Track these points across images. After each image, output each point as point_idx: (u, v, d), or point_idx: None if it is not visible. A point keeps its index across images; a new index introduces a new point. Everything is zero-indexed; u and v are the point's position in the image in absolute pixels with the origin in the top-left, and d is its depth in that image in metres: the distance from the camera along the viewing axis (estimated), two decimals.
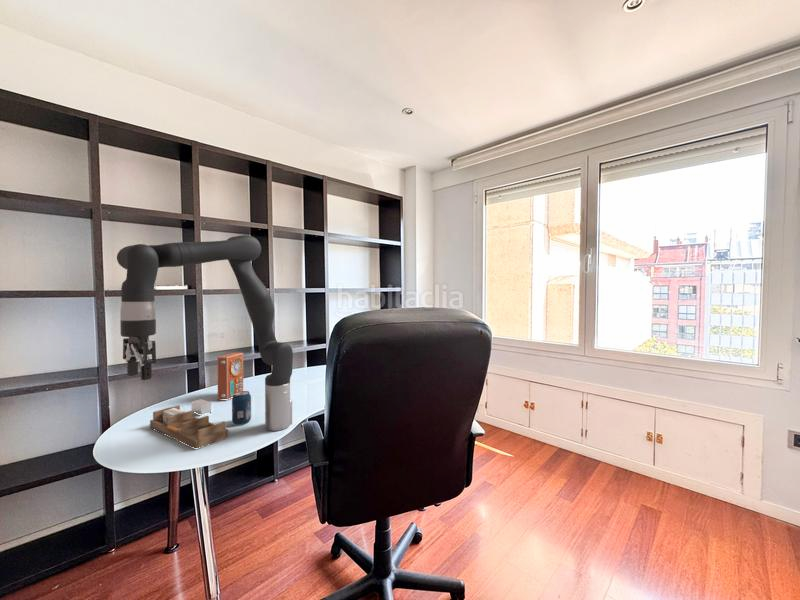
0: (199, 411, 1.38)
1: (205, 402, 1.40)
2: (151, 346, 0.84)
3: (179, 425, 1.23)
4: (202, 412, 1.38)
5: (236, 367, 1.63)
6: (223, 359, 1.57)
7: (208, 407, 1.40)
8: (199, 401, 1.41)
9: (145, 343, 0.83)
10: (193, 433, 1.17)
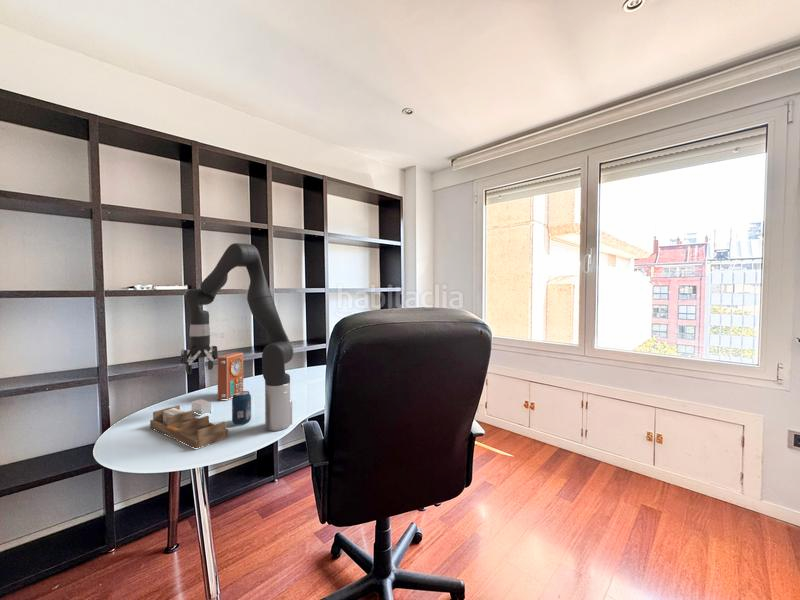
0: (199, 411, 1.38)
1: (205, 402, 1.40)
2: None
3: (179, 425, 1.23)
4: (202, 412, 1.38)
5: (236, 367, 1.63)
6: (223, 359, 1.57)
7: (208, 407, 1.40)
8: (199, 401, 1.41)
9: None
10: (193, 433, 1.17)
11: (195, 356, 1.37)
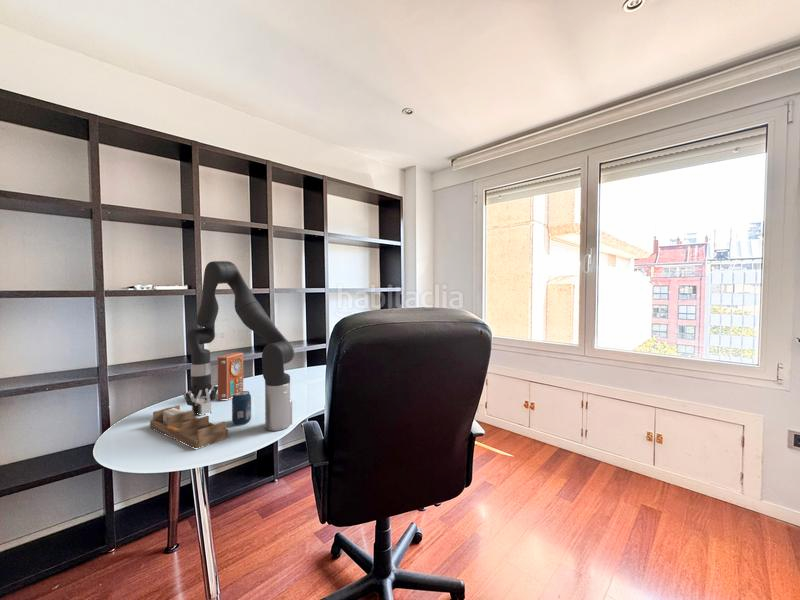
0: (200, 411, 1.38)
1: (206, 402, 1.40)
2: None
3: (179, 425, 1.23)
4: (202, 412, 1.38)
5: (236, 367, 1.63)
6: (223, 359, 1.57)
7: (208, 407, 1.40)
8: (199, 401, 1.41)
9: None
10: (193, 433, 1.17)
11: (198, 396, 1.39)
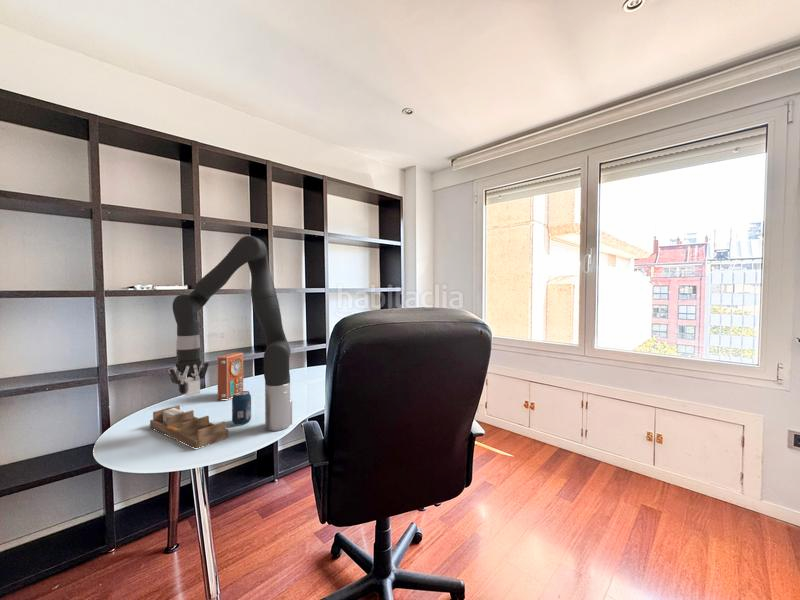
0: (186, 390, 1.19)
1: (194, 380, 1.21)
2: None
3: (179, 425, 1.23)
4: (189, 391, 1.18)
5: (236, 367, 1.63)
6: (223, 359, 1.57)
7: (197, 385, 1.21)
8: (187, 379, 1.22)
9: None
10: (193, 433, 1.17)
11: (185, 373, 1.19)
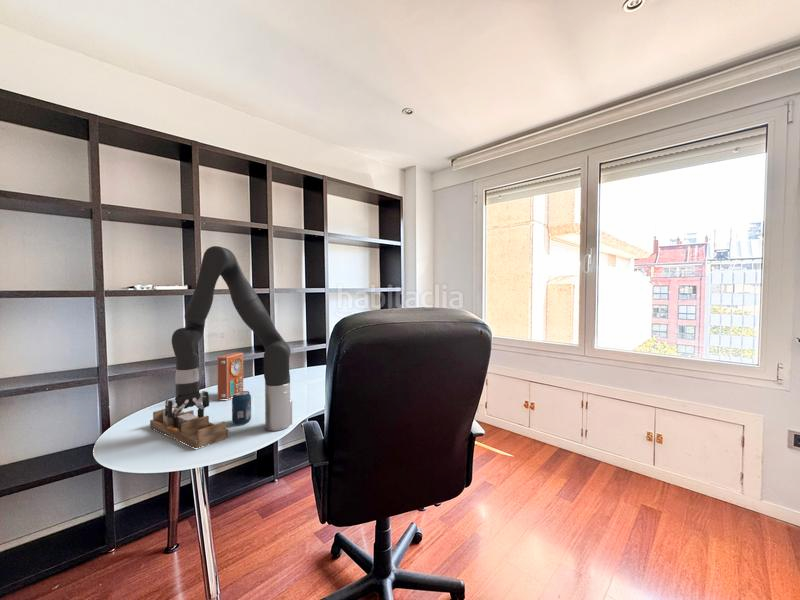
0: None
1: (193, 418, 1.20)
2: None
3: None
4: None
5: (236, 367, 1.63)
6: (223, 359, 1.57)
7: None
8: (186, 416, 1.21)
9: None
10: (193, 433, 1.17)
11: (182, 407, 1.18)
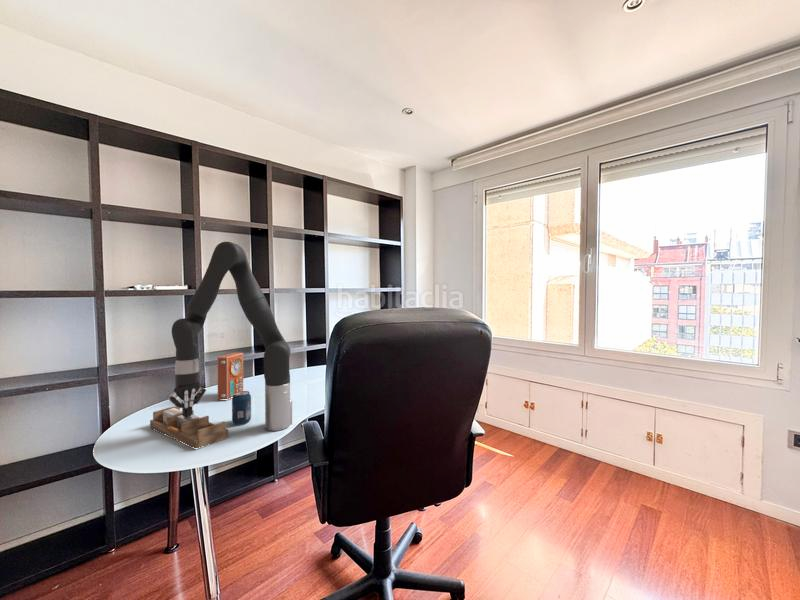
0: None
1: (193, 418, 1.20)
2: None
3: None
4: None
5: (236, 367, 1.63)
6: (223, 359, 1.57)
7: None
8: None
9: None
10: (193, 433, 1.17)
11: (186, 397, 1.19)
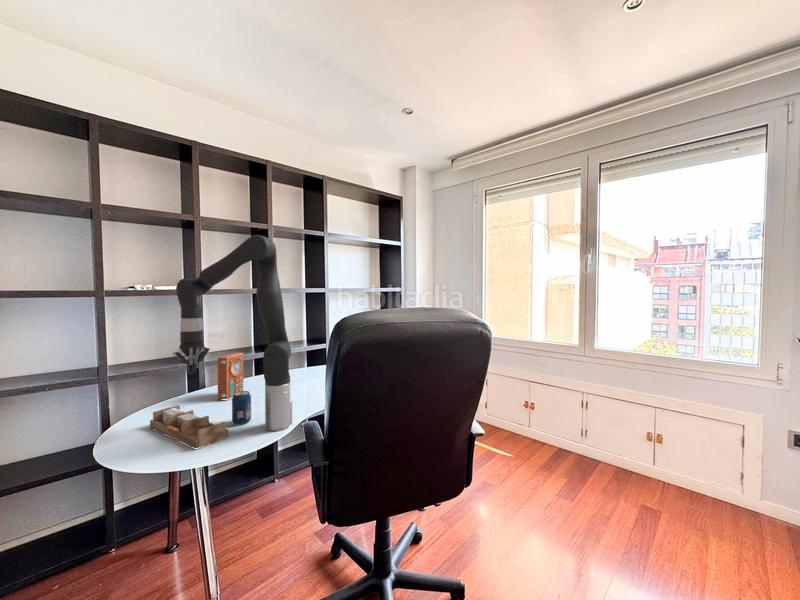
0: None
1: (193, 418, 1.20)
2: None
3: None
4: None
5: (236, 367, 1.63)
6: (223, 359, 1.57)
7: None
8: (186, 416, 1.21)
9: None
10: (193, 433, 1.17)
11: (191, 354, 1.24)
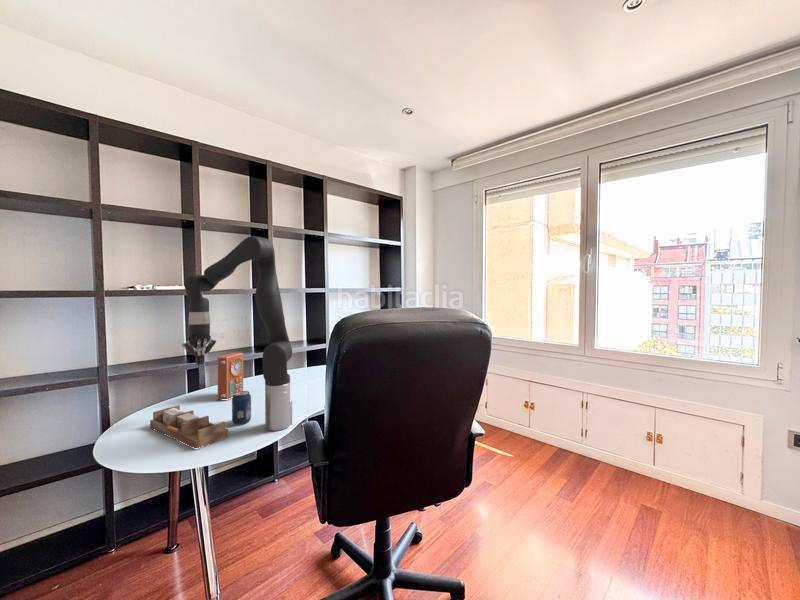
0: None
1: (193, 418, 1.20)
2: None
3: None
4: None
5: (236, 367, 1.63)
6: (223, 359, 1.57)
7: None
8: (186, 416, 1.21)
9: None
10: (193, 433, 1.17)
11: (198, 346, 1.32)
